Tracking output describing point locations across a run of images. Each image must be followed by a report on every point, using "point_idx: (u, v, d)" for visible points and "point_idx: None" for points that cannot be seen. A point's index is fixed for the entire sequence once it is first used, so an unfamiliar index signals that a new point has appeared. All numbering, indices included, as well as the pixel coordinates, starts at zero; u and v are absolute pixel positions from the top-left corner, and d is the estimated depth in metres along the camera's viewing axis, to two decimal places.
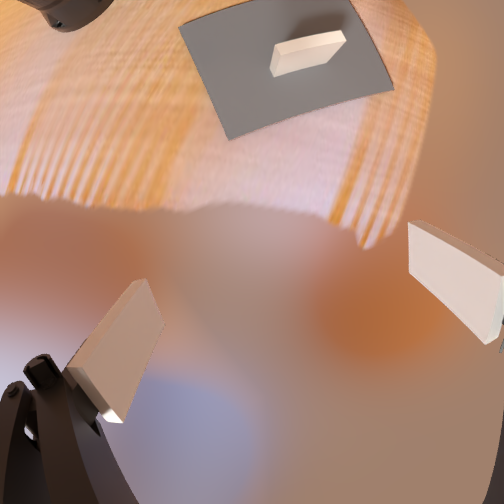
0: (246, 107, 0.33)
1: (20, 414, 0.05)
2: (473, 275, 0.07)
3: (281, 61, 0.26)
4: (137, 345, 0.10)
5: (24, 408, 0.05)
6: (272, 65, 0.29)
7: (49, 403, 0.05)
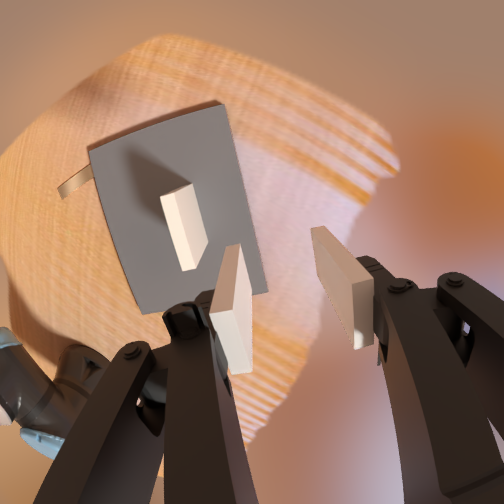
0: None
1: (136, 384, 0.06)
2: (339, 281, 0.10)
3: (198, 257, 0.30)
4: (246, 301, 0.12)
5: (143, 376, 0.07)
6: None
7: (187, 355, 0.07)
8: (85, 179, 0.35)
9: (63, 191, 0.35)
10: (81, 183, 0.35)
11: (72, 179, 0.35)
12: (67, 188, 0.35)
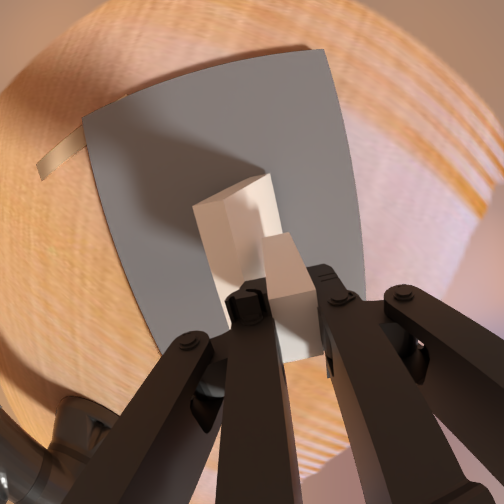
0: None
1: (193, 378, 0.06)
2: None
3: None
4: None
5: (200, 369, 0.07)
6: None
7: (249, 342, 0.07)
8: (78, 146, 0.20)
9: (44, 168, 0.20)
10: (71, 153, 0.20)
11: (58, 147, 0.20)
12: (50, 163, 0.20)
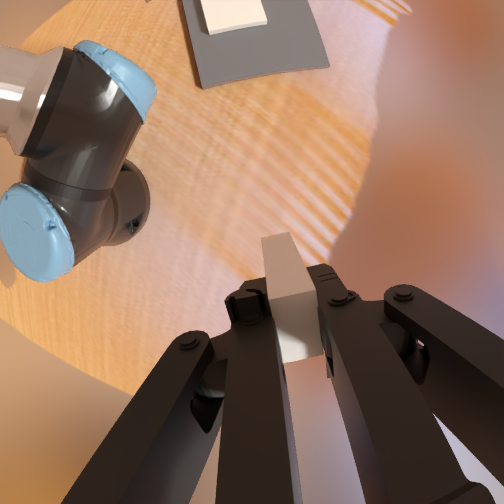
0: (302, 46, 0.34)
1: (193, 378, 0.06)
2: None
3: (223, 26, 0.31)
4: None
5: (200, 369, 0.07)
6: (249, 25, 0.32)
7: (249, 342, 0.07)
8: None
9: None
10: None
11: None
12: None
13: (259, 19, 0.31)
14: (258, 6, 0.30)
